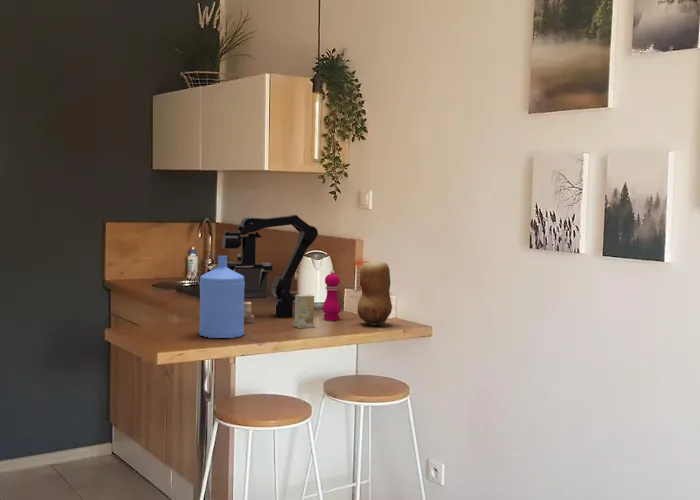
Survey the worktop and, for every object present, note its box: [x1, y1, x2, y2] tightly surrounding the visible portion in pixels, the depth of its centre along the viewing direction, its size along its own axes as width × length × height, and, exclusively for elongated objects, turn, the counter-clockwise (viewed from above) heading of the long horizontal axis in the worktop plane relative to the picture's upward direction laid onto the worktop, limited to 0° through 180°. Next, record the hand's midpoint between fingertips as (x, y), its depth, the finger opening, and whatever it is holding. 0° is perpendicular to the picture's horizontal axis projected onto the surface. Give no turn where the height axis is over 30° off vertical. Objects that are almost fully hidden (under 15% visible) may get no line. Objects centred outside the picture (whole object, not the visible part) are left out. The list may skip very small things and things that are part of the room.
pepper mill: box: [322, 269, 342, 322], centre depth 314 cm, size 7×7×20 cm
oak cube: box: [244, 301, 252, 317], centre depth 304 cm, size 5×5×5 cm
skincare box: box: [293, 293, 315, 329], centre depth 297 cm, size 6×4×12 cm
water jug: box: [198, 255, 246, 339], centre depth 276 cm, size 16×16×28 cm
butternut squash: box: [356, 260, 393, 326], centre depth 304 cm, size 14×13×25 cm
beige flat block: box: [244, 313, 256, 325], centre depth 304 cm, size 7×7×3 cm
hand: (248, 287), depth 314 cm, fingers open, 9 cm apart
